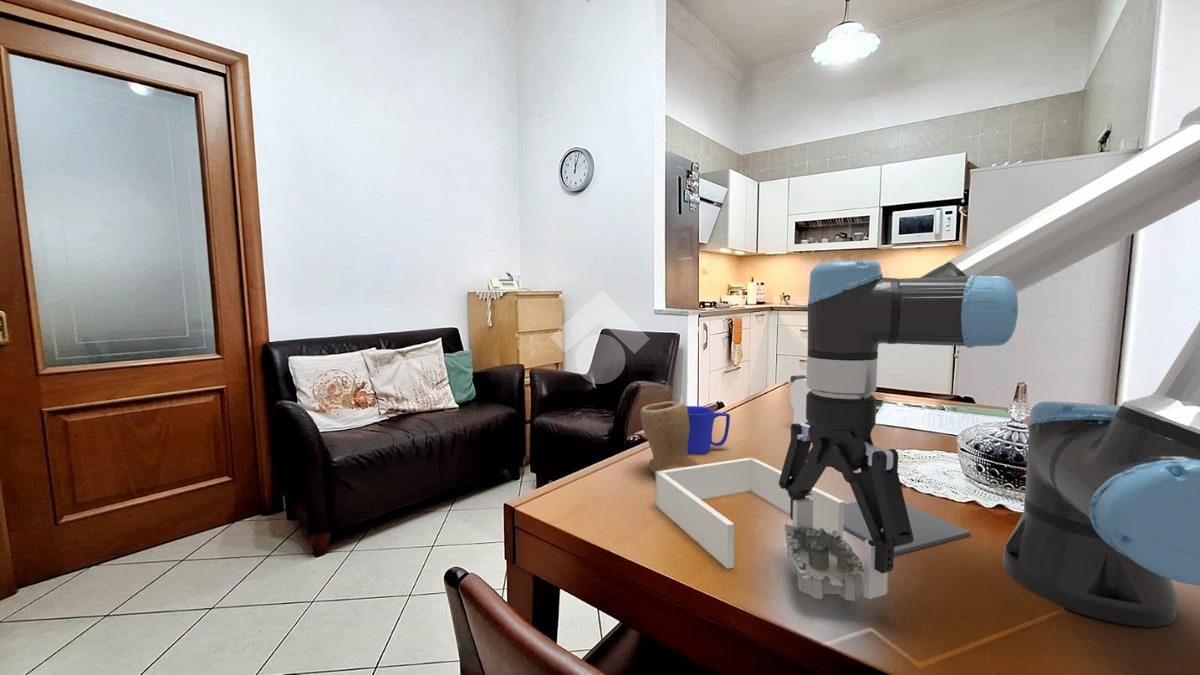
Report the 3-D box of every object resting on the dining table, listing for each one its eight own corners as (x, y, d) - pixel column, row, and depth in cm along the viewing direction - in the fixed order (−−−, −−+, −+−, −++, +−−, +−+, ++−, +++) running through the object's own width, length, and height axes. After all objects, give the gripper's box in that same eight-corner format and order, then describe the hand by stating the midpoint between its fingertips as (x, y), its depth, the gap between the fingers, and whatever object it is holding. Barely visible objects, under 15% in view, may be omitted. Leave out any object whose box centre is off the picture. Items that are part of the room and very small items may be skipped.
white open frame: (843, 541, 71) (844, 501, 70) (727, 568, 64) (727, 525, 63) (751, 488, 90) (752, 457, 90) (655, 505, 84) (655, 471, 83)
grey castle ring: (868, 605, 53) (867, 570, 52) (794, 599, 55) (793, 565, 54) (844, 550, 63) (844, 521, 63) (783, 547, 65) (782, 518, 64)
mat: (970, 535, 72) (970, 531, 72) (892, 556, 67) (892, 551, 67) (886, 499, 85) (886, 495, 85) (815, 513, 80) (815, 510, 80)
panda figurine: (844, 441, 119) (846, 381, 118) (806, 445, 116) (807, 383, 115) (810, 428, 131) (812, 373, 130) (774, 432, 128) (776, 375, 126)
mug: (733, 458, 107) (734, 414, 107) (679, 458, 108) (679, 414, 107) (724, 446, 116) (725, 405, 115) (674, 447, 116) (674, 406, 115)
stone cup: (636, 465, 103) (635, 396, 102) (690, 463, 105) (690, 394, 103) (650, 494, 88) (650, 413, 87) (714, 491, 90) (714, 411, 88)
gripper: (962, 409, 48) (951, 619, 50) (796, 375, 70) (793, 523, 72) (907, 417, 46) (898, 637, 48) (753, 379, 67) (751, 532, 69)
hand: (835, 568), depth 60 cm, fingers closed on grey castle ring, 10 cm apart
